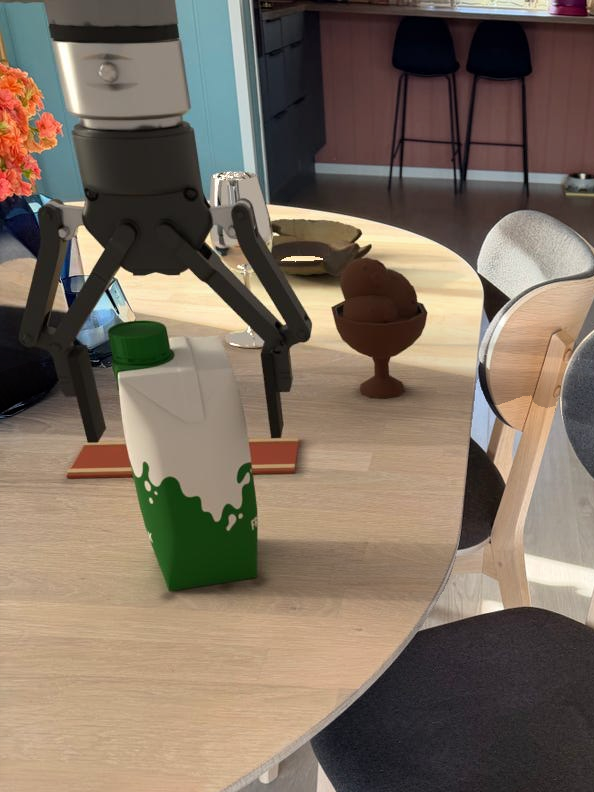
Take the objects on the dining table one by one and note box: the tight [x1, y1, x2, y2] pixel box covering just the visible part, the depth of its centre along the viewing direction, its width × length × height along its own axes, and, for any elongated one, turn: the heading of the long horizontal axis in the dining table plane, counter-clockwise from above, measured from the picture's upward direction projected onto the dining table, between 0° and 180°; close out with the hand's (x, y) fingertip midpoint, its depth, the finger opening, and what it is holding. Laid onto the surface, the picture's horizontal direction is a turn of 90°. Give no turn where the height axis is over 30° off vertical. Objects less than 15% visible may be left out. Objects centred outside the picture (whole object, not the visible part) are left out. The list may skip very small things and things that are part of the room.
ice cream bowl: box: [330, 257, 428, 399], centre depth 107 cm, size 11×11×15 cm
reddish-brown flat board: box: [66, 437, 300, 479], centre depth 95 cm, size 22×8×1 cm, turn 95°
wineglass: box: [208, 171, 274, 349], centre depth 119 cm, size 8×8×20 cm
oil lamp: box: [270, 218, 373, 277], centre depth 150 cm, size 22×30×8 cm
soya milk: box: [107, 320, 259, 592], centre depth 73 cm, size 9×9×20 cm
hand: (188, 433), depth 72 cm, fingers open, 13 cm apart
